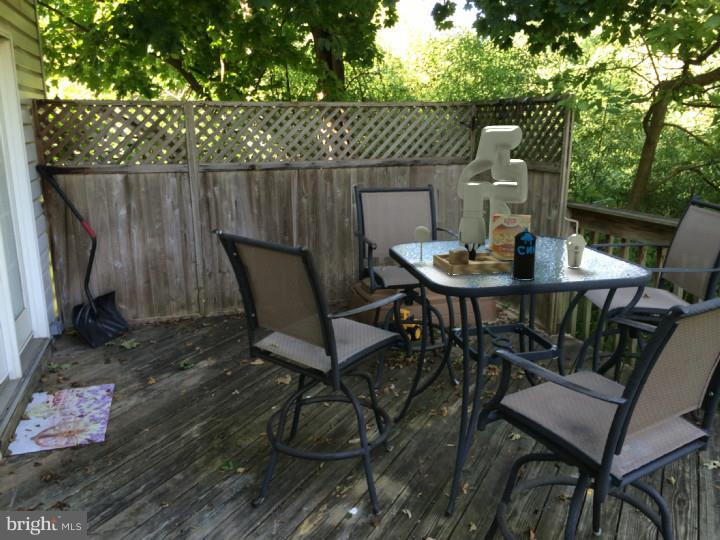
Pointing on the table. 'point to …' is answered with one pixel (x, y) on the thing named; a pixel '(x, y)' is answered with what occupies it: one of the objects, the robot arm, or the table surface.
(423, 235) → the lollipop
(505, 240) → the coffeecake box
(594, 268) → the table surface
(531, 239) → the aerosol can
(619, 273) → the table surface
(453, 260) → the block
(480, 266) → the tray
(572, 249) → the cup with straw
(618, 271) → the table surface
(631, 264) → the table surface
